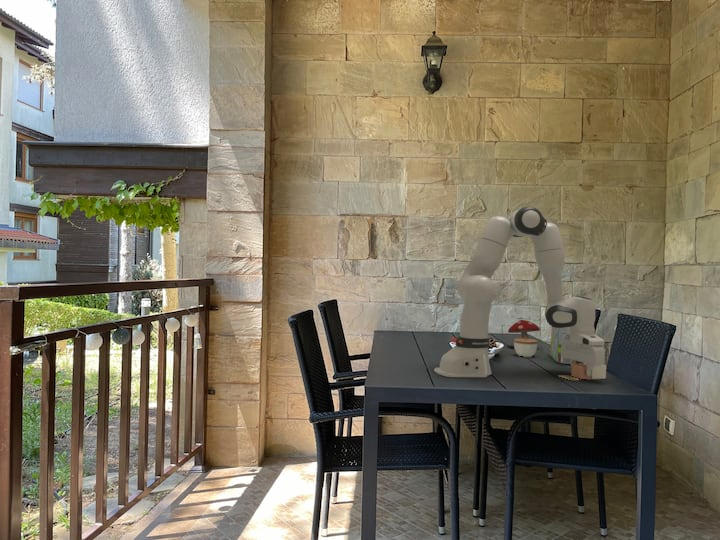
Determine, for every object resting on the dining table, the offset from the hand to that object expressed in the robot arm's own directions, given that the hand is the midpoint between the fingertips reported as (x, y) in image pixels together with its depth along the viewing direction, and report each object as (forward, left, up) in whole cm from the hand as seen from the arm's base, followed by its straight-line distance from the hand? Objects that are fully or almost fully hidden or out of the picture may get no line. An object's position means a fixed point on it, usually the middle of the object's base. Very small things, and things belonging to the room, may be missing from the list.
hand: (581, 373), depth 201 cm
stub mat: (-6, 0, -2) cm, 6 cm away
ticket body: (+6, 0, -2) cm, 6 cm away
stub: (0, 0, -2) cm, 2 cm away
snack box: (+18, +34, -2) cm, 39 cm away
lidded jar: (+6, +46, -2) cm, 46 cm away
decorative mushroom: (+19, +67, -2) cm, 70 cm away
